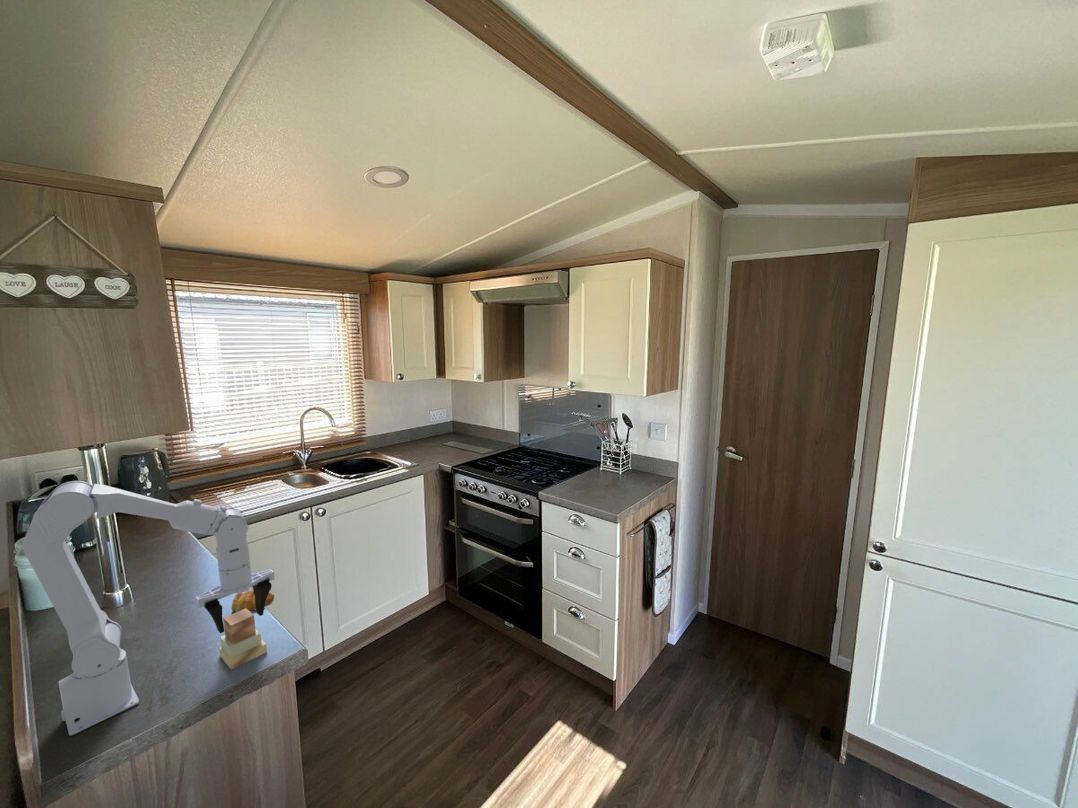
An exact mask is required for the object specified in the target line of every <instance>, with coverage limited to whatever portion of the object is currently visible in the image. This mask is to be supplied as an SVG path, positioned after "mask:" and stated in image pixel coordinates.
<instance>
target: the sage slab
mask: <svg viewBox="0 0 1078 808" xmlns="http://www.w3.org/2000/svg"><path fill="white" fill-rule="evenodd" d="M255 631H256V634H255V635H253V636H250V637H248V638H246V639H244V640H242V641H240V642H238V643H235V644H232V643H231V642H230V641H229V640H228V639H227V638H226V637H225V634H224V635H221V636H220V637H219V638H220V644H221V645H220V647H222V648H223V650H224V651H225V652H226V653H227V654H228V656H229V657H230V658H233V657H235V656H237V655H239V654H241V653H244V652H246V651H248V650H250V649H252V648H254V647H256V646H258V645H260V644H262V642H261V639H262V634H261V632H260V631H259V630H257V628H255Z"/></svg>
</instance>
